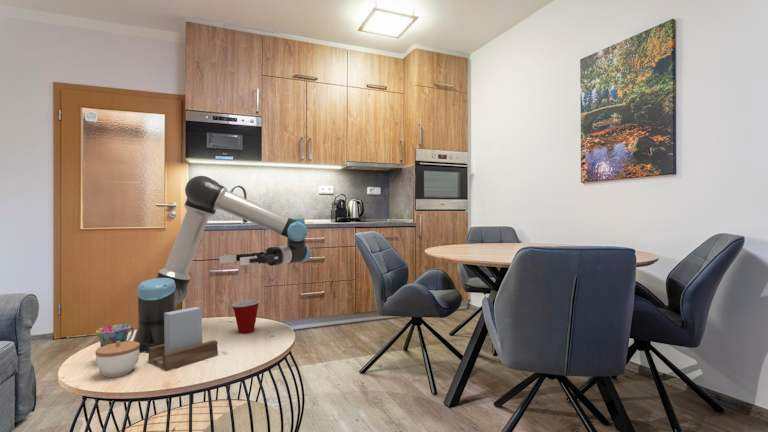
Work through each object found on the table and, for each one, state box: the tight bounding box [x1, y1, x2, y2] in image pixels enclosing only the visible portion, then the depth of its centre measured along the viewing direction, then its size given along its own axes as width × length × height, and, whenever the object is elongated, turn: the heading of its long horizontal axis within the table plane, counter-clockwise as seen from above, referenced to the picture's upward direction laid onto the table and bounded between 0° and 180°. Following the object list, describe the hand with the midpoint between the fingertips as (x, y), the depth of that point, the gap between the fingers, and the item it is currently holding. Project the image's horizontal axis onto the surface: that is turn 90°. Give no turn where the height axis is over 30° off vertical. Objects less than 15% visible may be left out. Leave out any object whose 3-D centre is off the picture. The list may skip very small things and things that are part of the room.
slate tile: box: [164, 306, 203, 353], centre depth 123 cm, size 4×10×14 cm, turn 142°
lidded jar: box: [95, 340, 140, 378], centre depth 112 cm, size 11×11×9 cm
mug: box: [95, 323, 135, 347], centre depth 123 cm, size 12×9×11 cm
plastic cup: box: [230, 299, 260, 335], centre depth 152 cm, size 11×11×12 cm
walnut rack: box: [147, 339, 219, 372], centre depth 123 cm, size 13×16×4 cm
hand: (229, 260), depth 139 cm, fingers open, 13 cm apart
